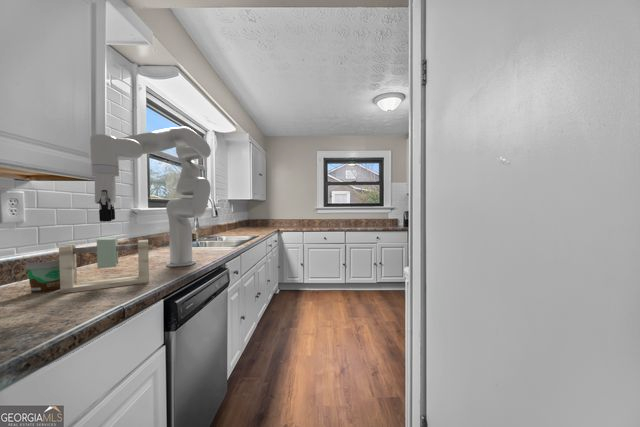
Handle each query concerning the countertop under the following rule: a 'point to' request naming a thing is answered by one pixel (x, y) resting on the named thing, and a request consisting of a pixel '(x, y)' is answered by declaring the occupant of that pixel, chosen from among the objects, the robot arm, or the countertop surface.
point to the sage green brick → (107, 252)
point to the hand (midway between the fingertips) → (107, 220)
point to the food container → (44, 276)
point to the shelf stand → (70, 280)
